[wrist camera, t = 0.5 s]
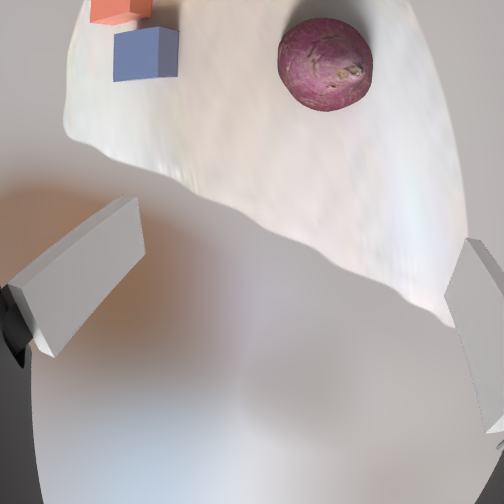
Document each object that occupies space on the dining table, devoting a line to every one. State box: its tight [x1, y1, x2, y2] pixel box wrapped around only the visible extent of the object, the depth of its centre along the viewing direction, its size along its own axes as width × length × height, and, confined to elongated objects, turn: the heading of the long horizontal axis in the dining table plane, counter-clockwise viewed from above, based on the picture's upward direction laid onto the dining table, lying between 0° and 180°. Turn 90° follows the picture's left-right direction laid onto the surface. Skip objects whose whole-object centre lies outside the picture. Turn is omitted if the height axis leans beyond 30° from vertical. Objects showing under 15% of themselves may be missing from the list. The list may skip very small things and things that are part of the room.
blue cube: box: [113, 26, 179, 82], centre depth 30 cm, size 6×6×5 cm
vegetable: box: [278, 18, 373, 112], centre depth 24 cm, size 10×10×15 cm
